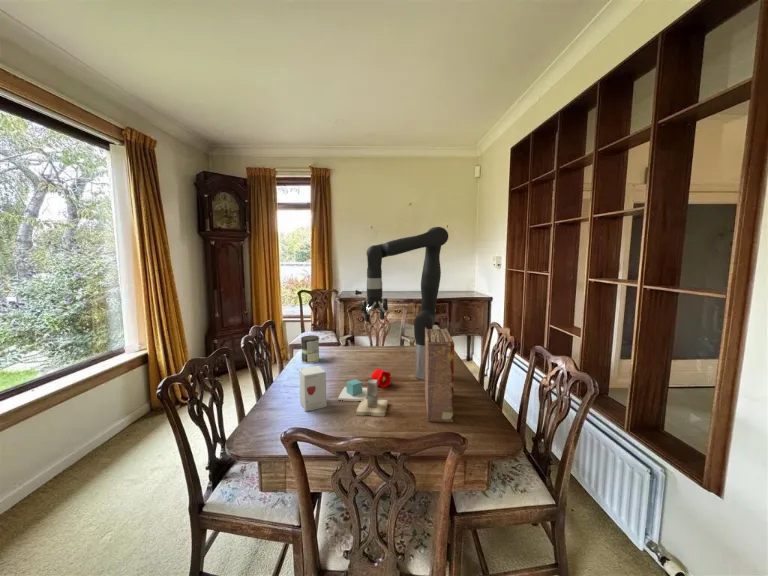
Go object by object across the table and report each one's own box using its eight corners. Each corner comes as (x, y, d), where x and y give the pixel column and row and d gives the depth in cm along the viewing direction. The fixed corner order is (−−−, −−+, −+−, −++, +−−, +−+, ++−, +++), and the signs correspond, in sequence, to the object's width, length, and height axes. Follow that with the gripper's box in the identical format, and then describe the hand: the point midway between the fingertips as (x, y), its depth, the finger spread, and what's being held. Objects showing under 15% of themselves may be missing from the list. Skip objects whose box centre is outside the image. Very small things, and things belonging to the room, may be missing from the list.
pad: (370, 390, 145) (370, 387, 145) (365, 401, 133) (365, 399, 133) (344, 388, 146) (344, 386, 146) (337, 400, 135) (337, 398, 134)
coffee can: (298, 363, 183) (298, 339, 182) (305, 357, 193) (304, 335, 192) (315, 363, 182) (315, 339, 180) (321, 358, 192) (321, 335, 191)
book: (424, 392, 142) (424, 327, 139) (445, 393, 141) (446, 327, 138) (427, 422, 116) (428, 342, 114) (453, 422, 116) (454, 342, 113)
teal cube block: (356, 389, 143) (355, 378, 143) (362, 393, 139) (362, 382, 139) (346, 392, 140) (346, 381, 140) (352, 396, 136) (352, 385, 136)
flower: (382, 369, 157) (393, 373, 151) (377, 385, 155) (389, 389, 149) (371, 366, 152) (382, 370, 146) (366, 382, 150) (377, 386, 144)
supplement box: (304, 412, 125) (303, 375, 123) (299, 403, 133) (298, 368, 131) (327, 407, 129) (326, 371, 127) (321, 398, 137) (320, 364, 135)
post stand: (387, 403, 132) (387, 376, 130) (384, 416, 121) (384, 387, 120) (361, 402, 133) (361, 375, 132) (356, 415, 122) (355, 386, 121)
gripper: (381, 286, 159) (381, 317, 160) (357, 287, 150) (358, 321, 151) (390, 287, 153) (391, 320, 154) (366, 289, 144) (367, 324, 146)
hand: (374, 320), depth 153 cm, fingers open, 8 cm apart
